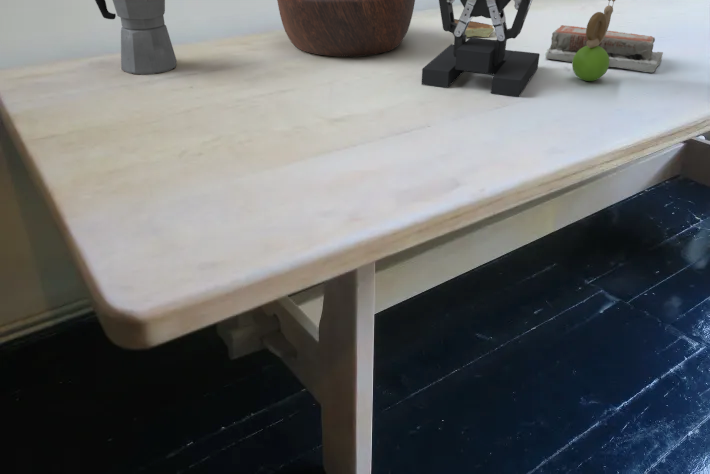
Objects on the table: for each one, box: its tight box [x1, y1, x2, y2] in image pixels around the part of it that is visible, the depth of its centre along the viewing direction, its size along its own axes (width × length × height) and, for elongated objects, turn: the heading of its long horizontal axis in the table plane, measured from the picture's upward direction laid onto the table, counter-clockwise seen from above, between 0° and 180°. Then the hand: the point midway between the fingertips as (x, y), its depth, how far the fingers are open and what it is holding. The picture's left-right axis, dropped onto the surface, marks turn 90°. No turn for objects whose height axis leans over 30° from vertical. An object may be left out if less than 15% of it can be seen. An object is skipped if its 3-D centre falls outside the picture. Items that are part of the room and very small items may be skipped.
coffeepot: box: [94, 0, 177, 75], centre depth 106 cm, size 15×9×18 cm, turn 77°
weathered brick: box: [544, 24, 664, 74], centre depth 113 cm, size 18×5×10 cm
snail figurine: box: [571, 0, 616, 82], centre depth 102 cm, size 5×6×12 cm
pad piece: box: [455, 37, 497, 74], centre depth 101 cm, size 5×8×3 cm, turn 157°
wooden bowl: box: [276, 0, 416, 57], centre depth 121 cm, size 25×25×10 cm
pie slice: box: [454, 18, 495, 39], centre depth 132 cm, size 11×8×2 cm
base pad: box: [421, 43, 541, 98], centre depth 105 cm, size 15×16×2 cm
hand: (478, 61), depth 102 cm, fingers closed on pad piece, 5 cm apart
